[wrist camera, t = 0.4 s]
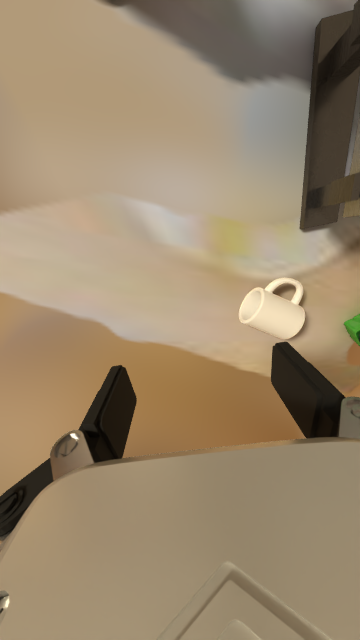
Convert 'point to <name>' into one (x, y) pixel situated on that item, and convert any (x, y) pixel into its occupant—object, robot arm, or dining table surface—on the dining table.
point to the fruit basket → (354, 328)
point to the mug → (273, 310)
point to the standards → (331, 119)
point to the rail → (354, 206)
